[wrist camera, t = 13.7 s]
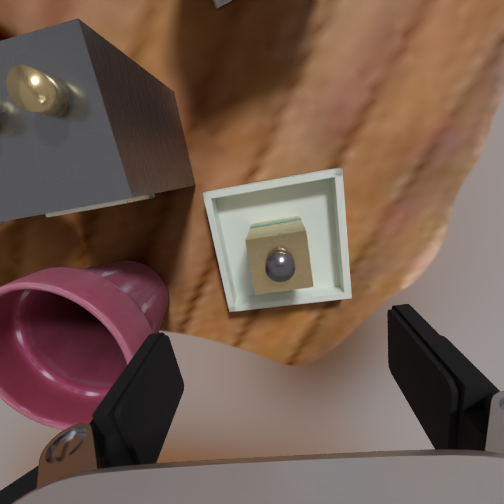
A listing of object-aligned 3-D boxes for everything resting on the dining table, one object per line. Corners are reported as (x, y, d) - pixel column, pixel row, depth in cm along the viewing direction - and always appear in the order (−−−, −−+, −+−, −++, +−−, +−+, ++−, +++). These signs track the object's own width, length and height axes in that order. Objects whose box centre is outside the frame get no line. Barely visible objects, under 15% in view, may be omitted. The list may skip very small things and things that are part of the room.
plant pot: (59, 256, 32) (-73, 309, 20) (160, 223, 30) (80, 261, 18) (111, 351, 36) (27, 444, 24) (205, 328, 33) (165, 420, 21)
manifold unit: (82, 113, 27) (-126, 53, 13) (173, 91, 25) (52, -2, 12) (111, 204, 29) (-34, 234, 16) (196, 188, 28) (119, 207, 14)
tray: (208, 190, 28) (202, 192, 26) (336, 167, 26) (342, 167, 24) (232, 301, 32) (229, 312, 29) (345, 288, 30) (351, 298, 28)
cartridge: (251, 223, 28) (242, 243, 20) (299, 215, 27) (308, 232, 20) (260, 266, 30) (254, 300, 22) (305, 260, 29) (316, 292, 21)
